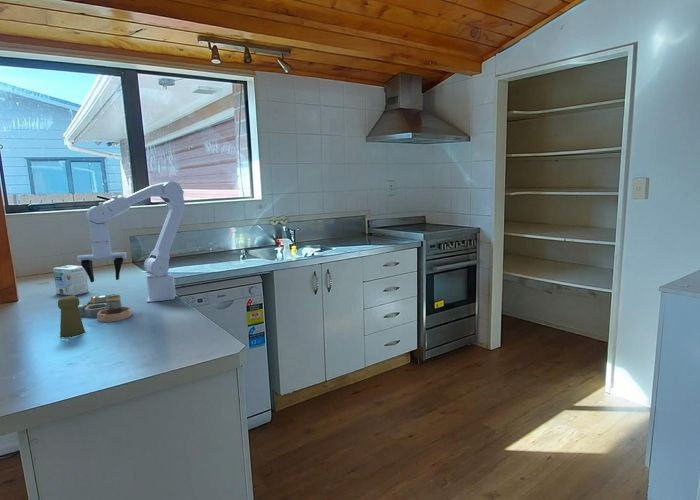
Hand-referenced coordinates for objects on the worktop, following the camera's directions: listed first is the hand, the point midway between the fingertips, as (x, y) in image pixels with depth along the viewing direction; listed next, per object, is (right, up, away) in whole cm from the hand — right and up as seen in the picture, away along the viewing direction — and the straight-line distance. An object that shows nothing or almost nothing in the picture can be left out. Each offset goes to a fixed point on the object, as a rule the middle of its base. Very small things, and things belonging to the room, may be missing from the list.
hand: (105, 280), depth 147 cm
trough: (-3, -10, +3) cm, 10 cm away
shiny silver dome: (0, -10, -5) cm, 11 cm away
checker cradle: (0, -11, -5) cm, 12 cm away
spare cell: (-3, -10, +3) cm, 10 cm away
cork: (+5, -14, -24) cm, 28 cm away
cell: (+9, -11, -9) cm, 17 cm away
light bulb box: (-28, -7, +26) cm, 39 cm away
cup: (+9, -11, -9) cm, 17 cm away
